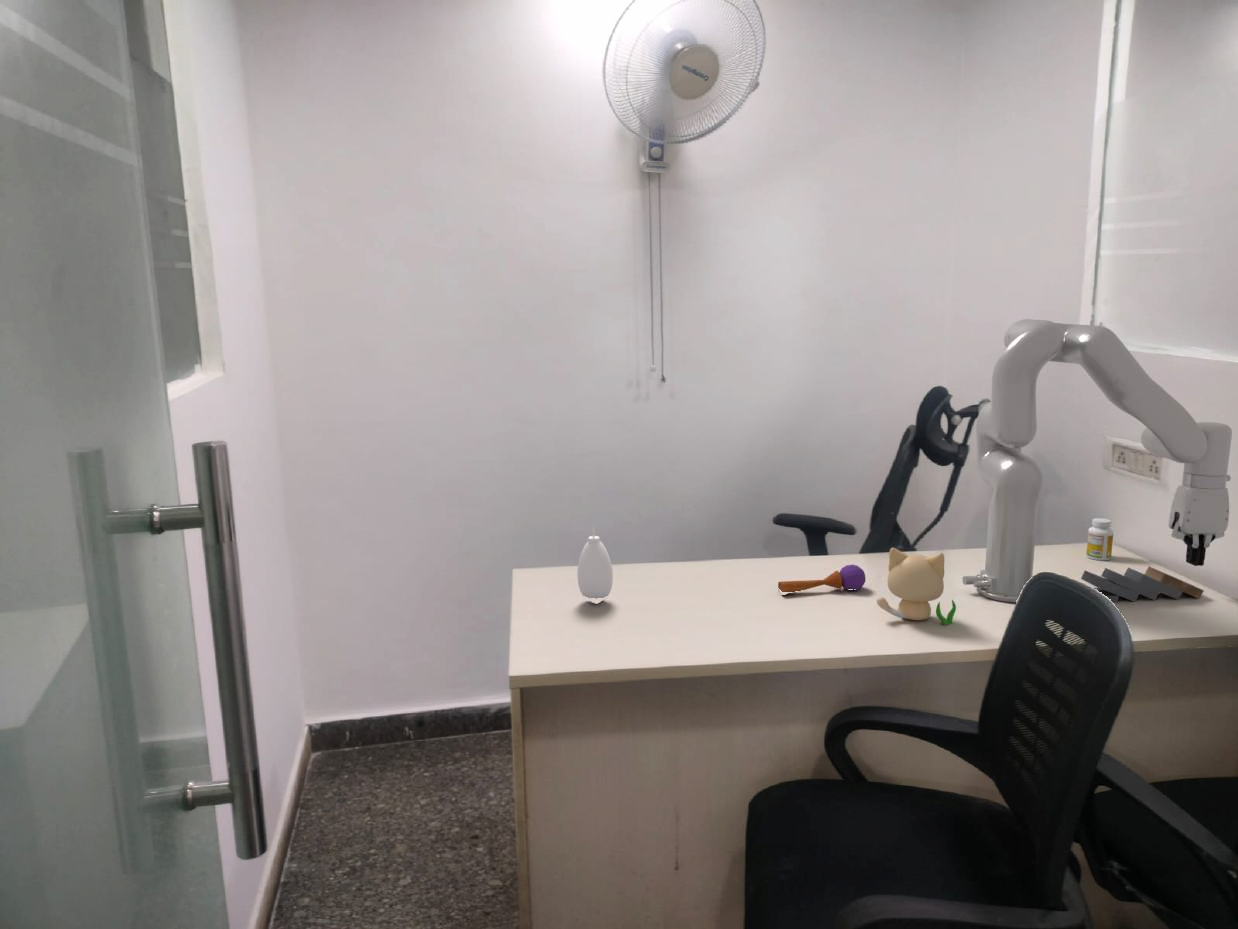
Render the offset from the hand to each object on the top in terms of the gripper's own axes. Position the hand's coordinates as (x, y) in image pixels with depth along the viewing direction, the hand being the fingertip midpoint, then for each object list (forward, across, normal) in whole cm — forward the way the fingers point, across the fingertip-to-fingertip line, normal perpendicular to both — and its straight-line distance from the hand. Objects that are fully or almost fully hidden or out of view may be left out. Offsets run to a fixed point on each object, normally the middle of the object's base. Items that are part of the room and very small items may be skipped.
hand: (1194, 563), depth 177 cm
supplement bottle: (+7, +4, -27) cm, 28 cm away
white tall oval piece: (+7, +130, -8) cm, 130 cm away
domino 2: (+7, +18, 0) cm, 19 cm away
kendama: (+8, +78, -10) cm, 79 cm away
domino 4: (+6, +4, 0) cm, 7 cm away
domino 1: (+6, +14, 0) cm, 15 cm away
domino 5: (+6, 0, 0) cm, 6 cm away
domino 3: (+6, +9, 0) cm, 11 cm away
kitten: (+7, +63, +7) cm, 64 cm away
